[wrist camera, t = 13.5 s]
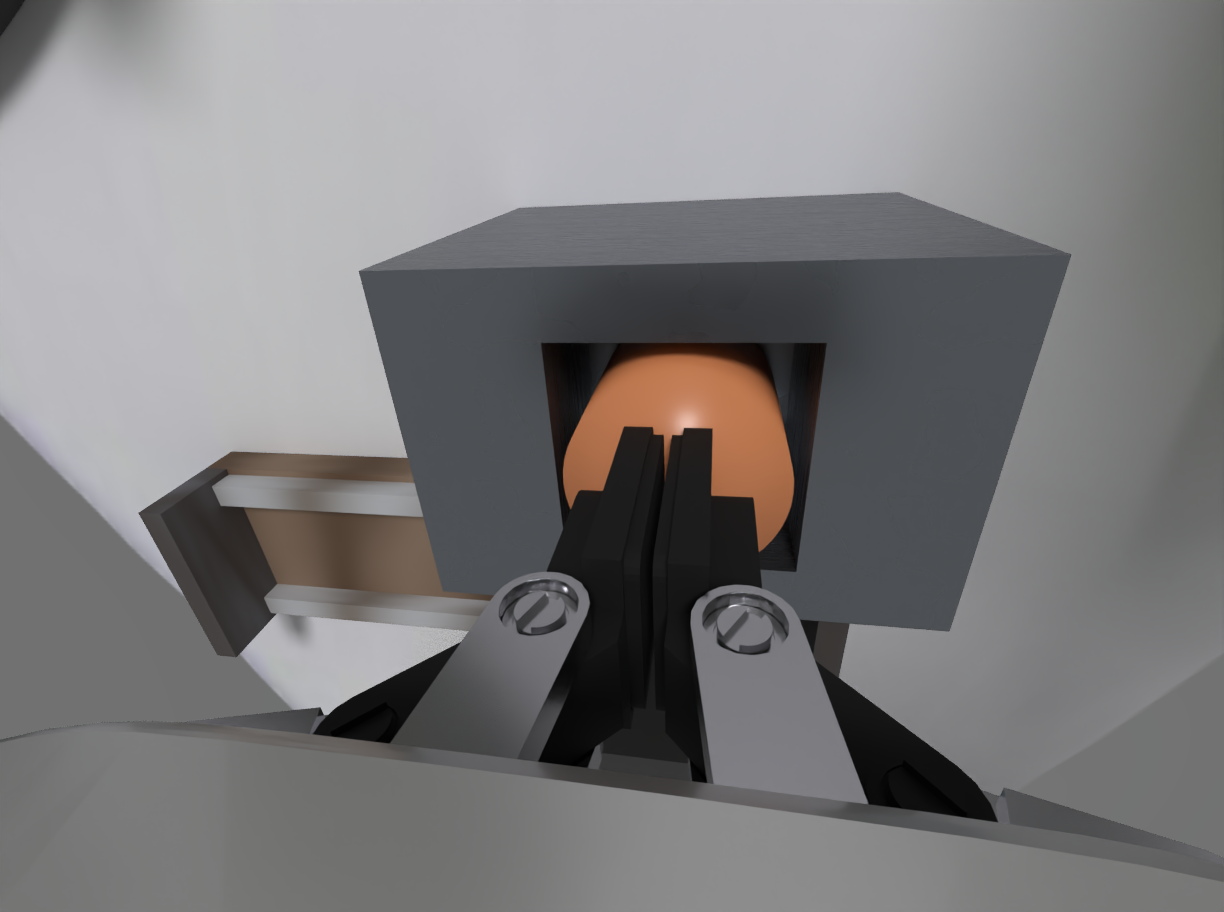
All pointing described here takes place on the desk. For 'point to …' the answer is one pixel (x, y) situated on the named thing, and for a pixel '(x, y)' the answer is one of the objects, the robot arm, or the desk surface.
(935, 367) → the cabinet
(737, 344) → the button
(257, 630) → the rail
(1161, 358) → the desk surface
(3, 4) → the media streaming box
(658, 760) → the carriage
